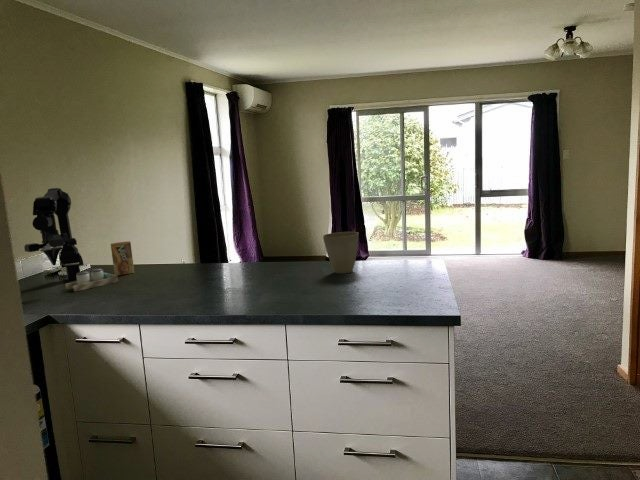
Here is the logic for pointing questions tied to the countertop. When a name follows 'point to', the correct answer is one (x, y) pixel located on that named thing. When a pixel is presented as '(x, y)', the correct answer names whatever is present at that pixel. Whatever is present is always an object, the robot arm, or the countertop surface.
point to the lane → (92, 283)
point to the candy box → (122, 258)
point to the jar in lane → (97, 274)
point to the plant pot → (342, 250)
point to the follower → (106, 275)
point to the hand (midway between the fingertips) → (54, 265)
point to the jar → (83, 277)
